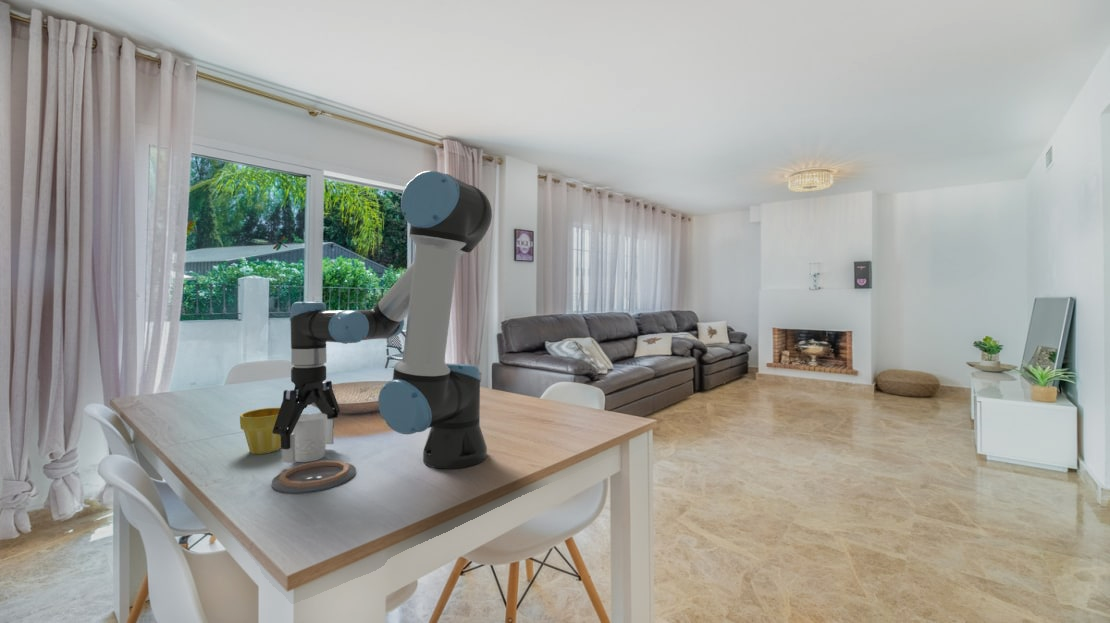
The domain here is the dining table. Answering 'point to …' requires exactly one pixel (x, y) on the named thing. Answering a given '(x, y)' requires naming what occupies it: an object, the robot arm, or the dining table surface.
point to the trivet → (313, 476)
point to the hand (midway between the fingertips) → (309, 452)
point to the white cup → (310, 437)
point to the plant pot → (261, 430)
